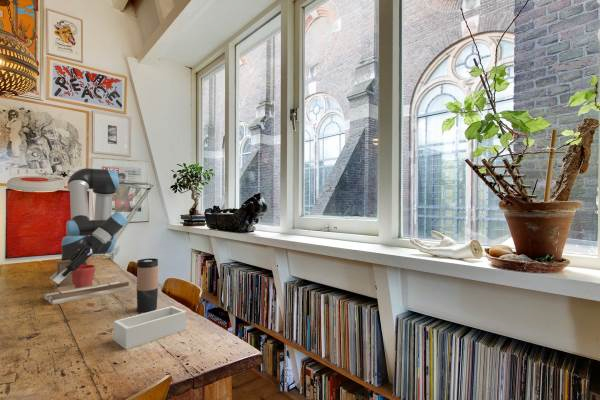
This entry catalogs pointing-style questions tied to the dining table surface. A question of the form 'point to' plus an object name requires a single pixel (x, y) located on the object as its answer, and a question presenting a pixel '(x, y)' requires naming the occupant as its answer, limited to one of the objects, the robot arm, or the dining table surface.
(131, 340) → the white rectangular planter box
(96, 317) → the dining table surface
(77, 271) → the flower pot
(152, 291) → the travel mug
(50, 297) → the birch board
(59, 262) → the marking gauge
